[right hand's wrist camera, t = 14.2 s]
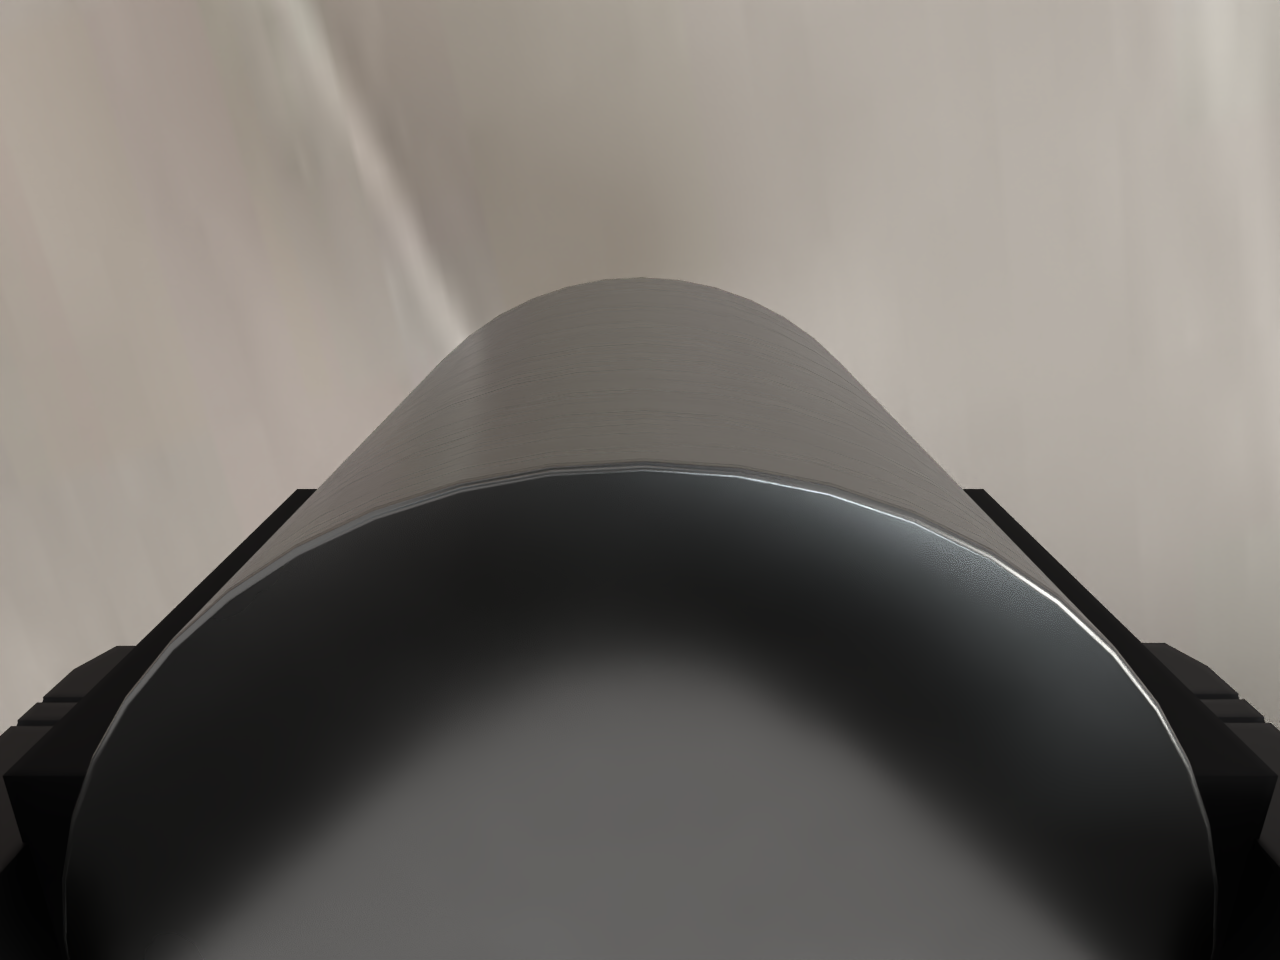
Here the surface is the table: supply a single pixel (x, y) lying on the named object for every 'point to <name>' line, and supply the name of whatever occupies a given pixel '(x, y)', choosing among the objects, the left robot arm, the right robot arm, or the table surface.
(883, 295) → the table surface
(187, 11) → the table surface
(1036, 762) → the tin
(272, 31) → the table surface
